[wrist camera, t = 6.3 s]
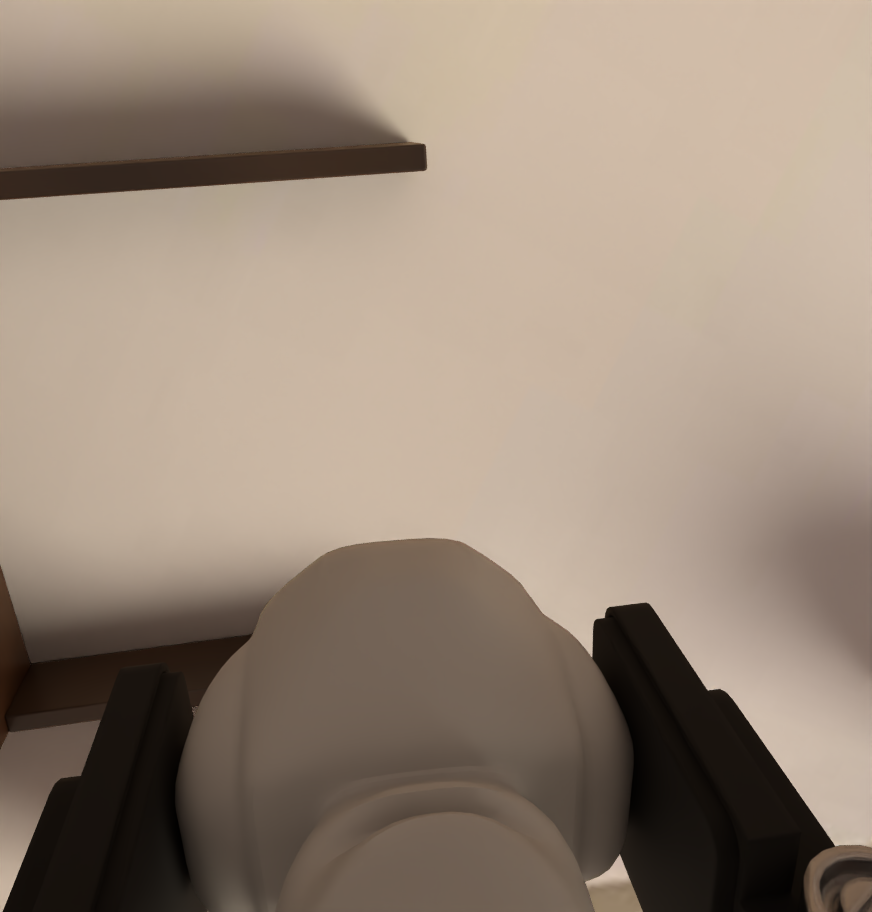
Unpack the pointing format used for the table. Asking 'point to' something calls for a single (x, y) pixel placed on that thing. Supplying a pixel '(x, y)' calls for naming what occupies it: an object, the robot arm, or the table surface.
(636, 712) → the robot arm
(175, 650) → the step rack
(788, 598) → the table surface
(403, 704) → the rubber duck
